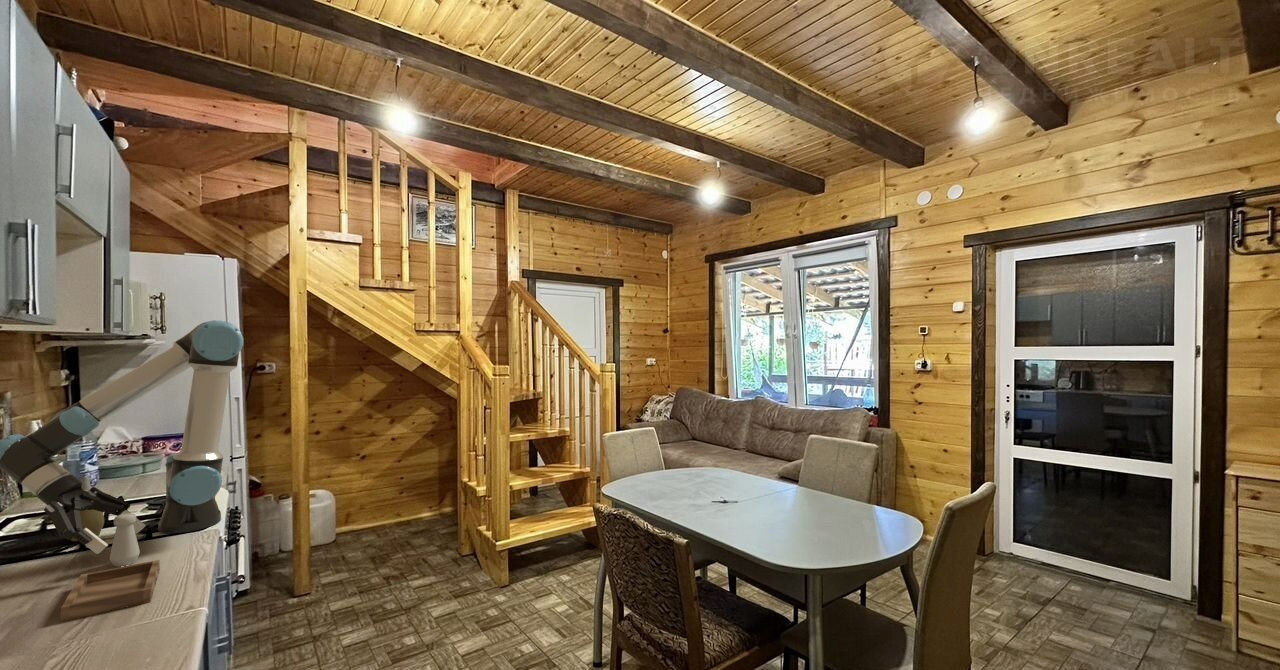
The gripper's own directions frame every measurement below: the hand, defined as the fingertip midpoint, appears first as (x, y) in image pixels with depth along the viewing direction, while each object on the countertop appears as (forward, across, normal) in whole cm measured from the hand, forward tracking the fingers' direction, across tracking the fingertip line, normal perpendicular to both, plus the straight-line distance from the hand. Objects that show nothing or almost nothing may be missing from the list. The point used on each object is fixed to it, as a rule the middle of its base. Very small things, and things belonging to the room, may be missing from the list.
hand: (122, 539), depth 140 cm
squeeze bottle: (-12, -23, -22) cm, 34 cm away
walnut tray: (+12, +18, +2) cm, 21 cm away
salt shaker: (+5, 0, -5) cm, 7 cm away
